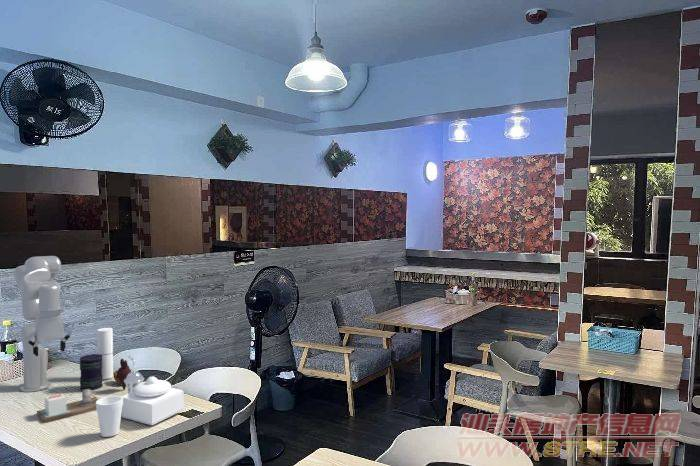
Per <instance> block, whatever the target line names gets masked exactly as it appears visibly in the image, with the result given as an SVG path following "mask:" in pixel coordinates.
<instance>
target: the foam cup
mask: <svg viewBox="0 0 700 466" xmlns="http://www.w3.org/2000/svg"><path fill="white" fill-rule="evenodd" d="M97 399H98V400H97V401H96V410H95V411H96V413H97V418H98V423H99V430H100V436H101V437H103V438H107V437H113V436H116V435H118V433H120V427H121V419H122V405H123V397H121V395H108V396H104V397H101V398H97Z"/></svg>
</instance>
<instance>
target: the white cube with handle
mask: <svg viewBox="0 0 700 466" xmlns="http://www.w3.org/2000/svg"><path fill="white" fill-rule="evenodd" d="M66 404H67V397H66V396H65V395H64V394H63V393H57V394H53V395H49V396H48V395H47V396H45V397H44V409H45V412H46V413H47V414H48V415H49V416H50V415H54V414H58V413H62V412H66Z"/></svg>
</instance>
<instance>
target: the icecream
mask: <svg viewBox="0 0 700 466" xmlns="http://www.w3.org/2000/svg"><path fill="white" fill-rule="evenodd" d="M119 363H120V367H119V368H118V369H117V370H116V371H117V376H116V378H117V379H119V380H120V383H121V387H122V390H123V391H125V390H126V389H127V387H126V383H124V379H126V377H127V375H128V374H129V373H130V372H132V370H131V368H130V366H129V365H128V361H127V360H125V359H124V358H121V359H120V362H119Z"/></svg>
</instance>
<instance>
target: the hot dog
mask: <svg viewBox="0 0 700 466" xmlns="http://www.w3.org/2000/svg"><path fill="white" fill-rule="evenodd" d="M117 371H118V370H116V371H113V379H114V381H115V382H116V383H117V384H118V385H121V383H120V380H119V379H117V378H116V376H117ZM121 386H122V385H121Z"/></svg>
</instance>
